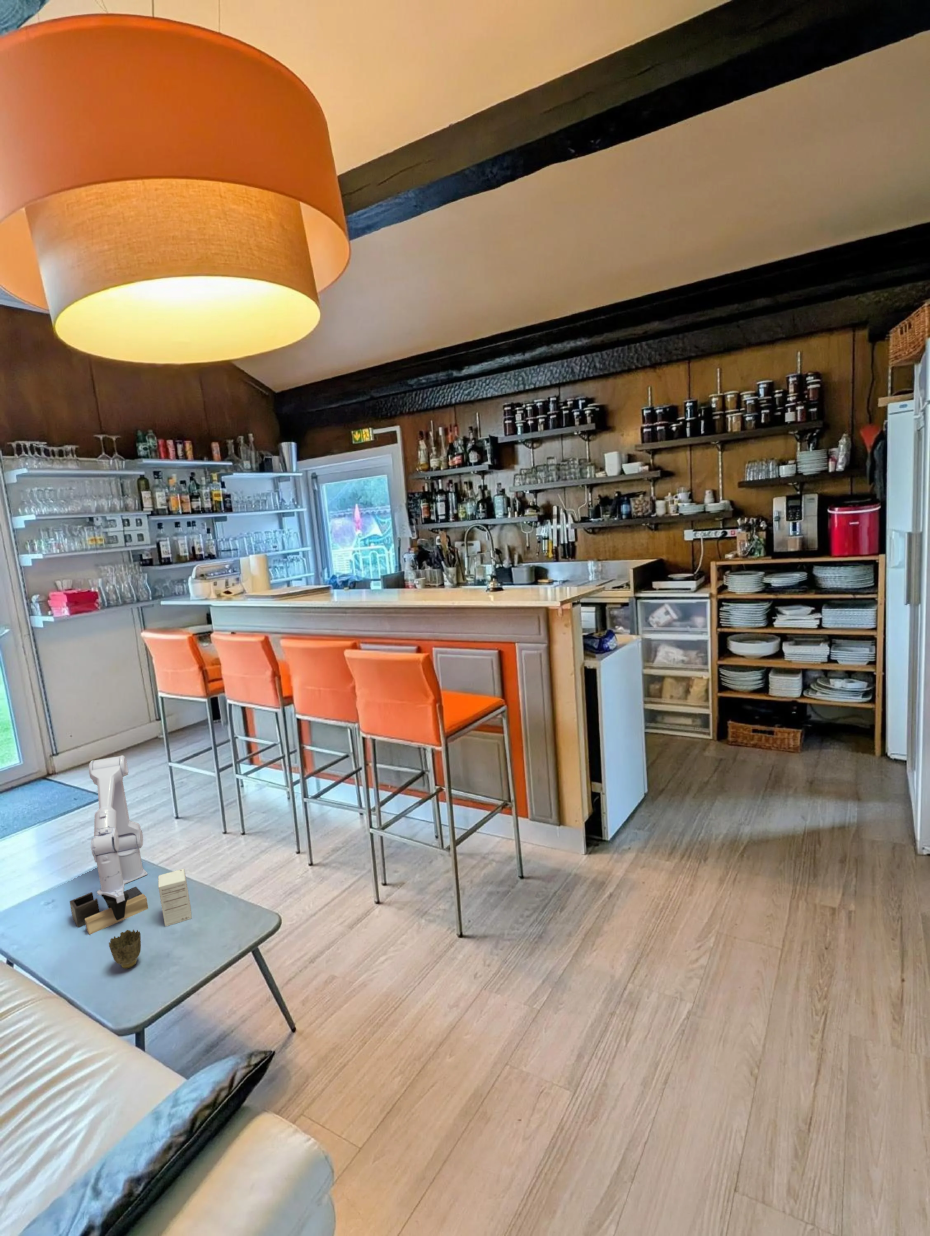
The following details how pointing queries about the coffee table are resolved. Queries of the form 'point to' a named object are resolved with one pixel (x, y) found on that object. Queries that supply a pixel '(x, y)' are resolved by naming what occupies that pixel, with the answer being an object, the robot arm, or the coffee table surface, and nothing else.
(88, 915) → the dark grey open box
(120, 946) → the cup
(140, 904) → the rail
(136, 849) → the robot arm
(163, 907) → the supplement box
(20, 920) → the coffee table surface
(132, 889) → the rest block
